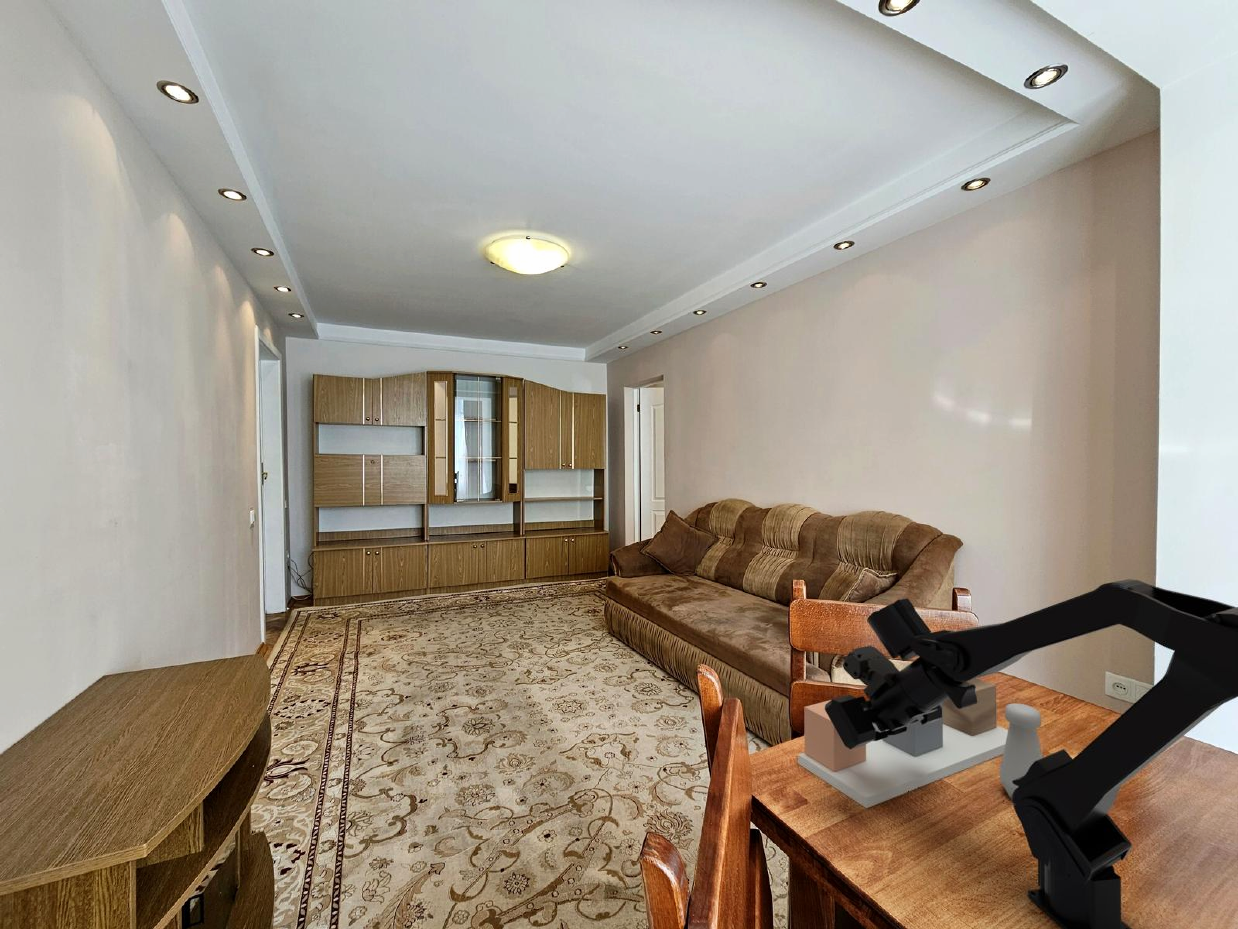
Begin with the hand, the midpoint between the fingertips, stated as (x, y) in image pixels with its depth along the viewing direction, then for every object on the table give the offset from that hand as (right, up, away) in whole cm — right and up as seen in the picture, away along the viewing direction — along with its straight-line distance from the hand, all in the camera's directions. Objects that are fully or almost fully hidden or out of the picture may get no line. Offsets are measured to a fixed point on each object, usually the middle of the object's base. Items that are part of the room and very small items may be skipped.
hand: (851, 733), depth 85 cm
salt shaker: (+23, -7, -5) cm, 24 cm away
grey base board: (+13, -7, +7) cm, 16 cm away
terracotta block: (-1, -5, +3) cm, 6 cm away
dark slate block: (+13, -5, +7) cm, 16 cm away
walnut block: (+27, -5, +14) cm, 30 cm away
